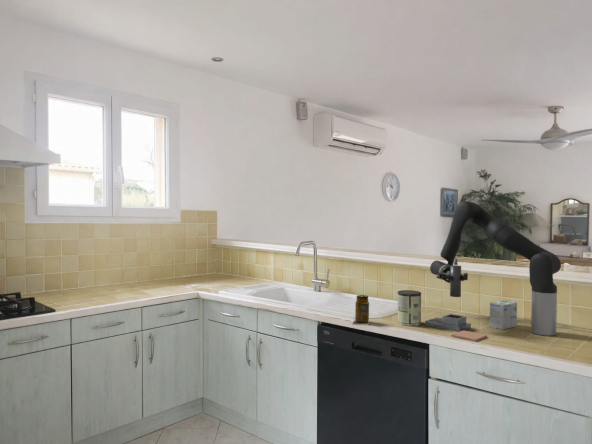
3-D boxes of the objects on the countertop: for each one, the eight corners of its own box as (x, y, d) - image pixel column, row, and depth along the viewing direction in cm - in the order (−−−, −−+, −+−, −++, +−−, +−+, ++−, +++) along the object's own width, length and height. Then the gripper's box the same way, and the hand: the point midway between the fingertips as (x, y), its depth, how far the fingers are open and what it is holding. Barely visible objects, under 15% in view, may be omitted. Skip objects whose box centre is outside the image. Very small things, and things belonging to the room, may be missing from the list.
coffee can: (404, 319, 212) (404, 289, 212) (424, 323, 205) (425, 291, 205) (392, 323, 204) (393, 291, 204) (413, 327, 198) (414, 294, 197)
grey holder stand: (436, 321, 208) (437, 310, 208) (470, 328, 196) (471, 316, 196) (425, 325, 201) (425, 313, 201) (459, 332, 190) (459, 320, 189)
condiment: (370, 321, 209) (370, 294, 209) (368, 325, 200) (369, 298, 200) (354, 320, 210) (354, 294, 210) (352, 324, 202) (352, 297, 202)
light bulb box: (503, 323, 206) (503, 299, 206) (517, 326, 200) (517, 302, 200) (488, 326, 200) (489, 302, 200) (503, 329, 194) (503, 304, 194)
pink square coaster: (463, 332, 189) (463, 330, 189) (487, 337, 182) (487, 335, 182) (451, 336, 183) (451, 334, 183) (475, 341, 175) (475, 339, 175)
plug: (453, 294, 199) (453, 257, 199) (462, 296, 196) (463, 258, 195) (448, 296, 196) (448, 258, 196) (457, 297, 193) (458, 259, 192)
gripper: (432, 265, 211) (439, 269, 194) (464, 265, 209) (474, 269, 192) (432, 281, 211) (439, 286, 194) (464, 281, 209) (474, 287, 192)
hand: (457, 278), depth 193 cm, fingers closed on plug, 4 cm apart
